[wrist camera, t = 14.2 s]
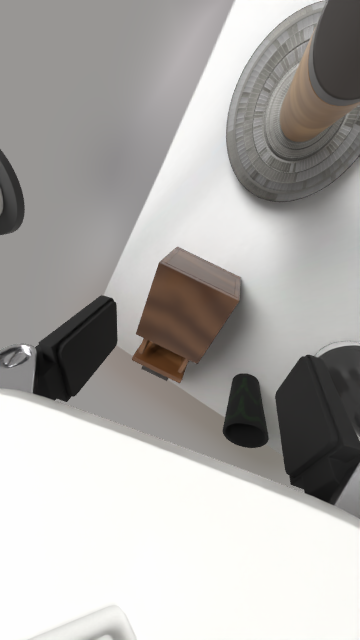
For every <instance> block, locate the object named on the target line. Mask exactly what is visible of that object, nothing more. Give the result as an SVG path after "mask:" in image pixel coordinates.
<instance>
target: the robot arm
mask: <svg viewBox="0 0 360 640" xmlns="http://www.w3.org/2000/svg"><path fill="white" fill-rule="evenodd" d="M2 210H3V196H2V192H1V188H0V215H1V213H2ZM116 344H117V310H116V302H114V300H113V299H112V298H109V297H106V296H100V297H98V298H97V299H96V300H94V301H93V302H92V303H90V304H89V305H88V306H86V307H85V308H84V309H82V310H81V311H80V312H79V313H77V314H76V315H75V316H73V317H72V318H71V319H70V320H68V321H67V322H65V323H64V324H63V325H61V326H60V327H59V328H58V329H56V330H55V331H53V332H52V333H51V334H49V335H48V336H47V337H46V338H44V339H43V340H41V341H40V342H39V345H38V346H36V347H35V348H34V347H33V346H32V345H29V344H15V345H11V346H8V347H5V348H3V349H2V350H0V640H360V441H359V439H358V437H357V435H356V432H355V430H354V428H353V426H352V423H351V421H350V419H349V417H348V414H347V412H346V410H345V408H344V405H343V403H342V401H341V399H340V396H339V394H338V392H337V390H336V387H335V385H334V383H333V381H332V378H331V376H330V374H329V372H328V369H327V367H326V365H325V363H324V361H323V359H321V358H318V357H315V356H311V355H306V356H305V357H301V358H300V359H299V361H298V362H297V363H296V365H295V366H294V368H293V369H292V370H291V372H290V373H289V375H288V376H287V378H286V379H285V380H284V382H283V383H282V385H281V386H280V387H279V389H278V390H277V392H276V396H275V399H276V407H277V414H278V421H279V428H280V436H281V443H282V450H283V457H284V464H285V470H286V473H287V474H288V475H290V482H291V485H293V486H296V487H299V488H302V489H304V491H305V493H303V492H300V491H297V490H295V489H292V488H290V487H288V486H285V485H283V484H280V483H277V482H275V481H272V480H270V479H267V478H264V477H262V476H259V475H256V474H254V473H251V472H248V471H246V470H243V469H240V468H238V467H235V466H232V465H230V464H227V463H224V462H222V461H219V460H217V459H214V458H211V457H209V456H206V455H203V454H200V453H198V452H195V451H192V450H190V449H187V448H184V447H182V446H179V445H176V444H173V443H171V442H168V441H165V440H163V439H160V438H157V437H155V436H152V435H149V434H146V433H144V432H141V431H138V430H136V429H133V428H130V427H127V426H124V425H122V424H119V423H116V422H114V421H111V420H108V419H105V418H103V417H100V416H97V415H94V414H92V413H89V412H86V411H83V410H81V409H78V408H75V407H72V406H69V405H66V404H63V403H60V402H57V401H55V400H56V399H60V400H63V401H65V402H67V401H68V400H69V399H70V398H71V396H75V395H76V394H77V393H78V392H79V391H80V390H81V388H82V387H83V386H84V385H85V383H86V382H87V381H88V380H89V379H90V377H91V376H92V375H93V373H94V372H95V371H96V370H97V369H98V367H99V366H100V365H101V364H102V363H103V361H104V360H105V359H106V357H107V356H108V355H109V354H110V353H111V351H112V350H113V349H114V348H115V346H116Z"/></svg>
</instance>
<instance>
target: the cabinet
mask: <svg viewBox="0 0 360 640" xmlns="http://www.w3.org/2000/svg"><path fill="white" fill-rule="evenodd" d="M240 282H241V277H239V276H237V275H235V274H233V273H231V272H228V271H226V270H224V269H222V268H220V267H218V266H216V265H214V264H212V263H210V262H208V261H206V260H204V259H202V258H200V257H198V256H195V255H193V254H191V253H189V252H187V251H185V250H183V249H181V248H179V247H176V248H175V249H174V250H173V251H172V252H170V253H169V254H168V255H167V256H166V257H165V258H164V259H162V260H161V261H160V262H159V264H158V268H157V271H156V274H155V277H154V280H153V283H152V286H151V289H150V292H149V295H148V298H147V301H146V304H145V307H144V311H143V314H142V317H141V320H140V323H139V326H138V329H137V332H136V334H137V335H139V336H141V337H143V338H145V339H147V340H149V341H151V342H153V343H155V344H157V345H159V346H161V347H164V348H166V349H168V350H170V351H172V352H174V353H176V354H178V355H180V356H182V357H184V358H186V359H188V360H190V361H192V362H194V363H196V364H198V363H199V361H200V360H201V358H202V356H203V355H204V353H205V352H206V350H207V349H208V347H209V346H210V344H211V343H212V341H213V340H214V338H215V337H216V335H217V334H218V332H219V331H220V329H221V328H222V326H223V325H224V323H225V322H226V320H227V319H228V317H229V316H230V314H231V313H232V311H233V310H234V308H235V307H236V305H237V304H238V302H239V298H240Z"/></svg>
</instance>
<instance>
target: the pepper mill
mask: <svg viewBox="0 0 360 640" xmlns="http://www.w3.org/2000/svg"><path fill="white" fill-rule="evenodd" d="M359 105H360V0H327V1H326V3H325V6H324V8H323V10H322V13H321V15H320V17H319V20H318V22H317V24H316V27H315V29H314V31H313V34H312V36H311V38H310V40H309V43H308V45H307V47H306V50H305V52H304V54H303V57H302V59H301V61H300V64H299V66H298V68H297V71H296V73H295V75H294V78H293V80H292V82H291V85H290V87H289V89H288V91H287V94H286V96H285V98H284V101H283V104H282V107H281V111H280V125H281V129H282V131H283V133H284V135H285V136H286V137H287V138H288V139H290V140H292V141H295V142H304V141H307V140H310V139H312V138H314V137H315V136H317V135H318V134H320V133H321V132H322V131H324V130H325V129H327V128H328V127H329V126H331V125H332V124H334V123H335V122H336V121H338V120H339V119H341V118H342V117H343V116H345V115H346V114H347V113H349V112H350V111H352V110H353V109H354V108H356V107H357V106H359Z"/></svg>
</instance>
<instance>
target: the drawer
mask: <svg viewBox="0 0 360 640" xmlns="http://www.w3.org/2000/svg"><path fill="white" fill-rule="evenodd" d="M132 360H133V361H135V362H137V363H139V364H141V365H143V366H142V369H143V370H145V371H147V372H149V373H151V374H154V375H156V376H158V377H160V378H162V379H164V380H166V381H167V380H168V378H170V379H172V380H174V381H176V382H178V383H180V382H181V381H182V378H183V375H184V372H185V369H186V366H187V364H188V362H189V360H188V359H186V358H184V357H182V356H180V355H178V354H176V353H174V352H172V351H170V350H168V349H166V348H164V347H161V346H159V345H157V344H155V343H153V342H151V341H149V340H147V339H145V338H144V339H143V341H142V343H141V345H140V346H139V348H138V349H137V351H136V352H135V354H134V355H133V358H132Z"/></svg>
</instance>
